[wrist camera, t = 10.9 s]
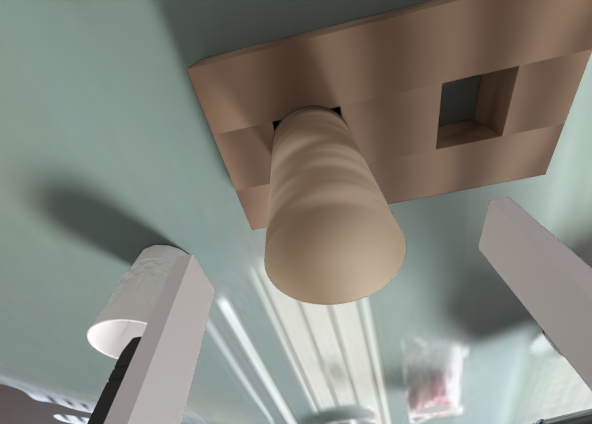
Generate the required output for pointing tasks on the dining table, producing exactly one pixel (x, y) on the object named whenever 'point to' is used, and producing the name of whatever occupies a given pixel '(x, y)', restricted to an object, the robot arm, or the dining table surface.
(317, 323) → the dining table surface
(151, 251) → the white cup
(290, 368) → the dining table surface
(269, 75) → the walnut board
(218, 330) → the dining table surface
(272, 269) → the beech peg
